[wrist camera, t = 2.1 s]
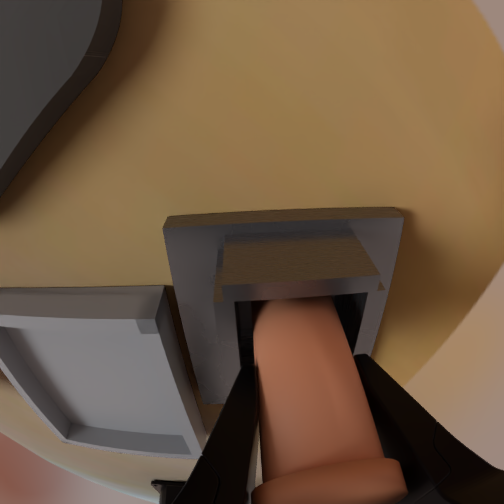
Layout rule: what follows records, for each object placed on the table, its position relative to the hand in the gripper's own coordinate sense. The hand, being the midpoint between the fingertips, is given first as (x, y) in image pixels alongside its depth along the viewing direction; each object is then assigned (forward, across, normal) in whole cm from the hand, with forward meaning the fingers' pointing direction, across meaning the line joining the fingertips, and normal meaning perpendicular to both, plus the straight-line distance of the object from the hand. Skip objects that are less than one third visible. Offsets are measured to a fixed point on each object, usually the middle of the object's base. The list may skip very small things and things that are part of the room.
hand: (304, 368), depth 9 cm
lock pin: (+4, 0, 0) cm, 4 cm away
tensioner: (+5, 0, +2) cm, 6 cm away
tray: (+5, +11, +7) cm, 14 cm away
